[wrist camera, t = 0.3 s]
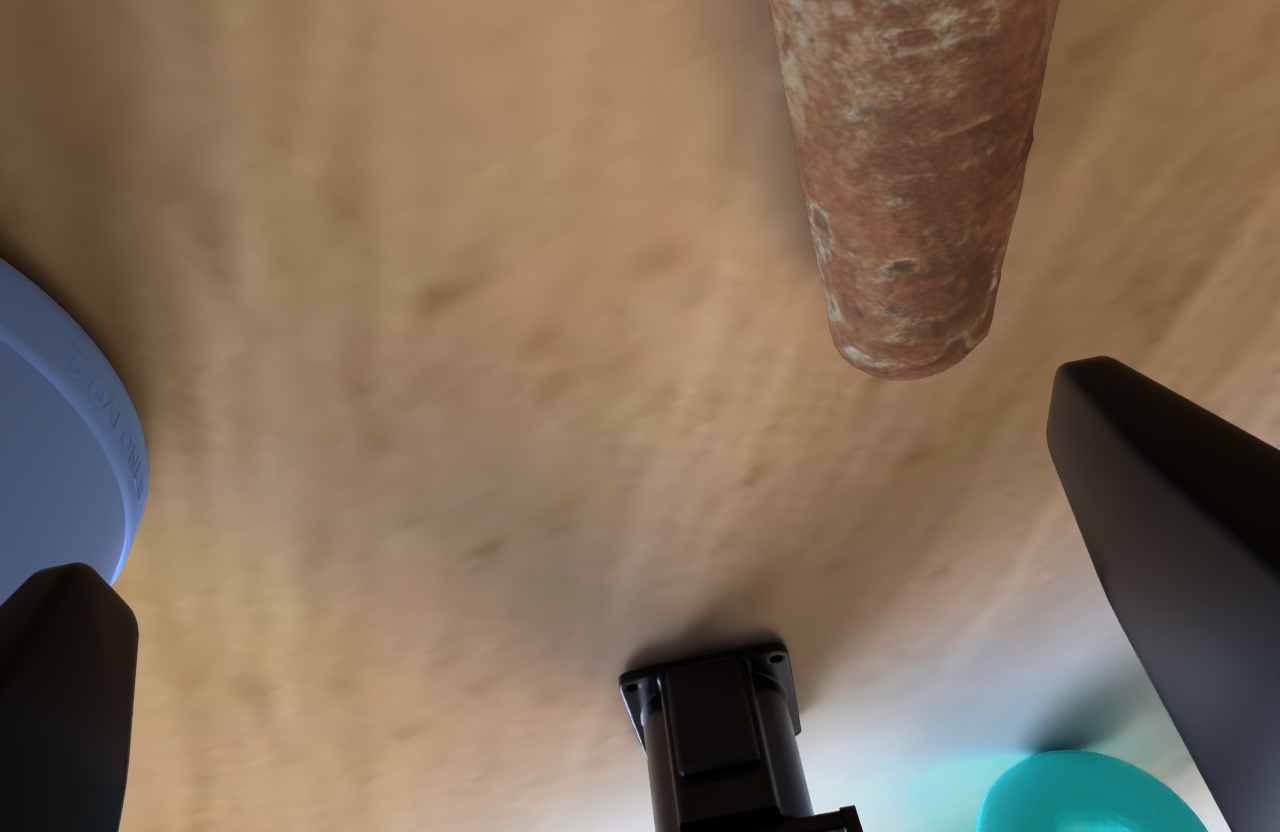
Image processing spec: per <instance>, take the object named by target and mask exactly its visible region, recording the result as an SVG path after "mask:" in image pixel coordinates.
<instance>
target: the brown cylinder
mask: <svg viewBox="0 0 1280 832" xmlns="http://www.w3.org/2000/svg"><path fill="white" fill-rule="evenodd" d="M768 2H769V8H770V13H771V18H772V23H773V29H774V34H775V39H776V44H777V50H778V58H779V65H780V70H781V76H782V81H783V86H784V92H785V98H786V103H787V108H788V113H789V118H790V123H791V128H792V133H793V138H794V144H795V151H796V157H797V163H798V170H799V176H800V181H801V186H802V191H803V196H804V201H805V207H806V211H807V216H808V221H809V226H810V231H811V236H812V241H813V244H814V247H815V250H816V256H817V262H818V268H819V273H820V276H821V280H822V283H823V287H824V293H825V300H826V306H827V314H828V321H829V326H830V332H831V335H832V338H833V342H834V345H835V347H836V349H837V350H838V352H839V353H840V354H841V356H842V357H843V359H845V360H846V361H847V362H848V363H849V364H851V365H852V366H853V367H855V368H857V369H860V370H862V371H864V372H866V373H868V374H870V375H872V376H875V377H878V378H883V379H888V380H903V381H904V380H916V379H922V378H925V377H929V376H932V375H935V374H937V373H941V372H944V371H945V370H947V369H949V368H950V367H952V366H954V365H956V364H957V363H959V362H960V361H961V360H962V359H963V358H964V357H965V356H966V355H967V354H968V353H970V352H971V351H972V350H973V349H974V348H975V347H976V346H977V345H978V344H979V343H980V342H981V341H982V340H983V339H984V338H985V337H986V336H987V335H988V332H989V329H990V326H991V322H992V319H993V313H994V307H995V302H996V295H997V291H998V287H999V283H1000V278H1001V268H1002V264H1003V260H1004V257H1005V253H1006V249H1007V244H1008V240H1009V236H1010V232H1011V228H1012V224H1013V220H1014V217H1015V214H1016V210H1017V207H1018V203H1019V199H1020V195H1021V190H1022V186H1023V180H1024V173H1025V167H1026V162H1027V157H1028V154H1029V151H1030V148H1031V145H1032V142H1033V127H1034V122H1035V118H1036V113H1037V109H1038V105H1039V101H1040V97H1041V91H1042V85H1043V79H1044V73H1045V68H1046V62H1047V56H1048V50H1049V45H1050V40H1051V36H1052V31H1053V26H1054V22H1055V17H1056V12H1057V8H1058V3H1059V0H768Z"/></svg>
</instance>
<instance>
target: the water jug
mask: <svg viewBox="0 0 1280 832" xmlns="http://www.w3.org/2000/svg"><path fill="white" fill-rule="evenodd" d="M148 483H149V464H148V454H147V448H146V443H145V438H144V434H143V430H142V427H141V424H140V421H139V418H138V415H137V413H136V410H135V408H134V405H133V403H132V401H131V399H130V397H129V395H128V393H127V391H126V389H125V387H124V385H123V383H122V382H121V380H120V378H119V377H118V375H117V373H116V372H115V370H114V369H113V367H112V366H111V364H110V363H109V361H108V360H107V359H106V357H105V356H104V354H103V353H102V352H101V350H100V349H99V348H98V347H97V345H96V344H95V343H94V342H93V340H92V339H91V338H90V337H89V336H88V335H87V333H86V332H85V331H84V330H83V329H82V328H81V327H80V326H79V324H78V323H77V322H76V321H75V320H74V319H73V318H72V317H71V316H70V315H69V314H68V313H67V312H66V311H65V310H64V309H63V308H62V307H61V306H60V305H59V304H57V303H56V302H55V301H54V300H53V299H52V298H51V297H50V296H49V295H48V294H46V293H45V292H44V291H43V290H42V289H41V288H39V287H38V286H37V285H36V284H35V283H33V282H32V281H31V280H30V279H28V278H27V277H26V276H24V275H23V274H22V273H21V272H19V271H18V270H17V269H15V268H14V267H13V266H11V265H10V264H8V263H7V262H6V261H4V260H3V259H1V258H0V606H1V605H2V604H3V603H4V602H5V601H6V600H7V599H8V598H9V597H10V596H11V595H12V594H13V593H14V592H15V591H16V590H17V589H18V588H19V587H20V586H21V585H22V584H23V583H24V582H25V581H26V580H27V579H28V578H29V577H30V576H31V575H32V574H34V573H35V572H37V571H39V570H42V569H45V568H49V567H54V566H59V565H64V564H69V563H74V562H82V563H85V564H87V565H90V566H91V567H92V568H94V569H95V570H96V571H97V572H98V573H99V575H100V576H101V577H102V578H103V579H104V580H105V581H106V582H107V583H108V584H109V585H110V586H111V585H112V584H113V583H114V581H115V580H116V578H117V577H118V575H119V573H120V571H121V570H122V568H123V566H124V564H125V561H126V559H127V556H128V554H129V551H130V548H131V546H132V543H133V540H134V537H135V535H136V532H137V529H138V527H139V524H140V521H141V518H142V515H143V512H144V508H145V504H146V499H147V493H148Z"/></svg>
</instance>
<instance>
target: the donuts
mask: <svg viewBox="0 0 1280 832" xmlns="http://www.w3.org/2000/svg"><path fill="white" fill-rule="evenodd" d="M976 832H1208V831H1207V829H1206V828H1205V826H1204V825H1203V823H1202V822H1201V821H1200V819H1199V818H1198V817H1197V815H1196V814H1195V813H1194V812H1193V811H1192V809H1191V808H1190V807H1189V806H1188V805H1187V804H1186V803H1185V802H1184V801H1183V800H1182V799H1181V798H1180V797H1179V796H1178V795H1177V794H1176V793H1175V792H1173V791H1172V790H1171V789H1170V788H1169V787H1167V786H1166V785H1165V784H1163V783H1162V782H1161V781H1159V780H1158V779H1156V778H1155V777H1154V776H1152V775H1150V774H1149V773H1147V772H1145V771H1144V770H1142V769H1140V768H1138V767H1136V766H1134V765H1132V764H1130V763H1127V762H1125V761H1123V760H1120V759H1117V758H1115V757H1111V756H1108V755H1104V754H1100V753H1096V752H1090V751H1081V750H1058V751H1050V752H1044V753H1040V754H1037V755H1034V756H1031V757H1028V758H1026V759H1024V760H1022V761H1020V762H1018V763H1017V764H1015V765H1014V766H1012V767H1011V768H1010V769H1008V770H1007V771H1006V772H1004V773H1003V774H1002V775H1001V776H1000V777H999V778H998V779H997V780H996V781H995V783H994V784H993V785H992V787H991V788H990V790H989V791H988V793H987V795H986V797H985V799H984V801H983V804H982V806H981V809H980V812H979V815H978V819H977V824H976Z"/></svg>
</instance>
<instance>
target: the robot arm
mask: <svg viewBox="0 0 1280 832" xmlns="http://www.w3.org/2000/svg"><path fill="white" fill-rule="evenodd" d="M1046 433H1047V443H1048V447H1049V451H1050V454H1051V457H1052V460H1053V462H1054V465H1055V467H1056V470H1057V473H1058V475H1059V478H1060V480H1061V483H1062V485H1063V488H1064V490H1065V493H1066V496H1067V498H1068V501H1069V503H1070V506H1071V508H1072V511H1073V514H1074V516H1075V519H1076V521H1077V524H1078V526H1079V529H1080V532H1081V534H1082V537H1083V539H1084V542H1085V544H1086V547H1087V549H1088V552H1089V555H1090V557H1091V560H1092V562H1093V565H1094V567H1095V570H1096V573H1097V575H1098V577H1099V580H1100V582H1101V585H1102V587H1103V589H1104V592H1105V594H1106V597H1107V599H1108V601H1109V603H1110V605H1111V607H1112V609H1113V611H1114V613H1115V615H1116V617H1117V619H1118V621H1119V623H1120V625H1121V626H1122V628H1123V630H1124V632H1125V634H1126V636H1127V638H1128V639H1129V641H1130V643H1131V645H1132V647H1133V649H1134V651H1135V653H1136V654H1137V656H1138V658H1139V660H1140V662H1141V664H1142V666H1143V667H1144V669H1145V671H1146V673H1147V675H1148V677H1149V679H1150V681H1151V682H1152V684H1153V686H1154V688H1155V690H1156V692H1157V694H1158V695H1159V697H1160V699H1161V701H1162V703H1163V705H1164V707H1165V708H1166V710H1167V712H1168V714H1169V716H1170V718H1171V720H1172V722H1173V723H1174V725H1175V727H1176V729H1177V731H1178V733H1179V735H1180V736H1181V738H1182V740H1183V742H1184V744H1185V746H1186V748H1187V750H1188V751H1189V753H1190V755H1191V757H1192V759H1193V761H1194V763H1195V764H1196V766H1197V768H1198V770H1199V772H1200V774H1201V776H1202V777H1203V779H1204V781H1205V783H1206V785H1207V787H1208V789H1209V791H1210V792H1211V794H1212V796H1213V798H1214V800H1215V802H1216V804H1217V805H1218V807H1219V809H1220V811H1221V813H1222V815H1223V817H1224V819H1225V820H1226V822H1227V824H1228V826H1229V828H1230V830H1231V832H1280V450H1278V449H1277V448H1275V447H1273V446H1271V445H1269V444H1268V443H1266V442H1264V441H1262V440H1260V439H1258V438H1257V437H1255V436H1253V435H1251V434H1249V433H1248V432H1246V431H1244V430H1242V429H1240V428H1239V427H1237V426H1235V425H1233V424H1231V423H1230V422H1228V421H1226V420H1224V419H1222V418H1221V417H1219V416H1217V415H1215V414H1213V413H1212V412H1210V411H1208V410H1206V409H1204V408H1203V407H1201V406H1199V405H1197V404H1195V403H1194V402H1192V401H1190V400H1188V399H1186V398H1185V397H1183V396H1181V395H1179V394H1177V393H1176V392H1174V391H1172V390H1170V389H1168V388H1166V387H1165V386H1163V385H1161V384H1159V383H1157V382H1156V381H1154V380H1152V379H1150V378H1148V377H1147V376H1145V375H1143V374H1141V373H1139V372H1138V371H1136V370H1134V369H1132V368H1130V367H1129V366H1127V365H1125V364H1123V363H1121V362H1120V361H1118V360H1116V359H1114V358H1111V357H1108V356H1097V357H1092V358H1087V359H1082V360H1077V361H1072V362H1067V363H1064V364H1063V365H1061V366H1060V367H1059V368H1058V370H1057V371H1056V374H1055V377H1054V383H1053V390H1052V396H1051V402H1050V409H1049V415H1048V421H1047V430H1046ZM138 639H139V631H138V624H137V620H136V617H135V615H134V613H133V611H132V610H131V608H130V607H129V606H128V605H127V604H126V603H125V601H124V600H123V599H122V598H121V597H120V596H119V595H118V594H117V593H116V592H115V591H114V590H113V589H112V587H111V586H110V585H109V584H108V583H107V582H106V581H105V580H104V579H103V578H102V577H101V576H100V575H99V573H98V572H97V571H96V570H95V569H94V568H92V567H91V566H90V565H87V564H85V563H82V562H74V563H69V564H64V565H59V566H54V567H49V568H45V569H42V570H39V571H37V572H35V573H34V574H32V575H31V576H30V577H29V578H28V579H27V580H26V581H25V582H24V583H23V584H22V585H21V586H20V587H19V588H18V589H17V590H16V591H15V592H14V593H13V594H12V595H11V596H10V597H9V598H8V599H7V600H6V601H5V602H4V603H3V604H2V605H1V606H0V832H118V830H119V825H120V819H121V814H122V808H123V802H124V796H125V790H126V783H127V774H128V765H129V755H130V742H131V729H132V716H133V703H134V690H135V677H136V665H137V652H138ZM619 689H620V692H621V695H622V698H623V700H624V703H625V705H626V708H627V710H628V713H629V715H630V718H631V721H632V723H633V726H634V728H635V731H636V733H637V736H638V738H639V741H640V744H641V746H642V749H643V751H644V754H645V756H646V759H647V762H648V771H649V779H650V788H651V797H652V805H653V814H654V823H655V831H656V832H863V830H862V827H861V824H860V820H859V817H858V814H857V811H856V808H855V805H852V806H847V807H841V808H839V809H840V811H835V812H829V813H824V814H818V815H814V813H813V809H812V805H811V801H810V797H809V792H808V788H807V784H806V780H805V776H804V772H803V767H802V763H801V759H800V755H799V751H798V747H797V742H796V738H795V736H797V735H798V734H799V733H800V732H801V726H800V720H799V713H798V707H797V701H796V694H795V688H794V682H793V676H792V669H791V663H790V657H789V653H788V649H787V646H786V645H785V644H783V643H780V642H775V643H769V644H764V645H759V646H754V647H749V648H743V649H738V650H733V651H728V652H723V653H718V654H713V655H708V656H703V657H698V658H693V659H688V660H683V661H678V662H673V663H668V664H663V665H658V666H653V667H648V668H643V669H638V670H633V671H628V672H625V673H623V674H622V675H620V677H619Z"/></svg>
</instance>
